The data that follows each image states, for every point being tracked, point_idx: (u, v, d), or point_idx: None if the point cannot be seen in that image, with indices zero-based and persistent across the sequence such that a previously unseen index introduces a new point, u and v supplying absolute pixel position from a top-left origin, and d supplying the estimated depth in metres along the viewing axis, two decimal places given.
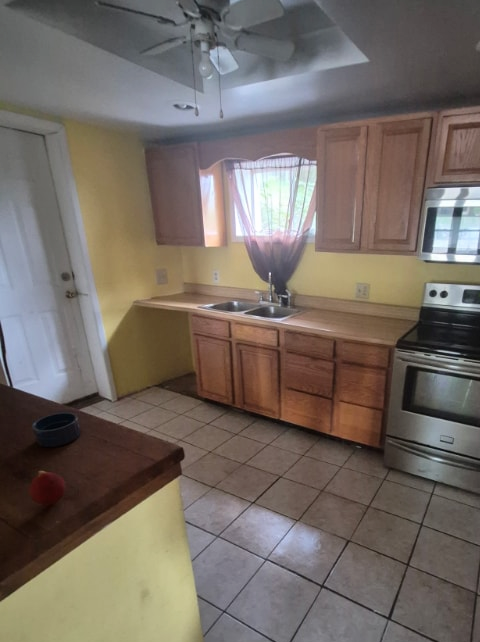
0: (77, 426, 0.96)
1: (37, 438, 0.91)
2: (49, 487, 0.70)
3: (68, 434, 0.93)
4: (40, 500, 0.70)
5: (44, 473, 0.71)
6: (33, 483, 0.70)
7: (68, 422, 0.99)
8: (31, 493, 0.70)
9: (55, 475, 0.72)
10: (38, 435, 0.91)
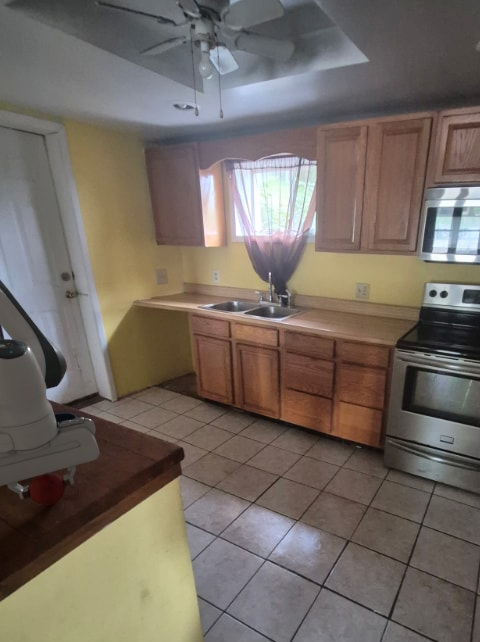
0: None
1: None
2: (49, 487, 0.70)
3: None
4: (40, 500, 0.70)
5: None
6: (33, 483, 0.70)
7: None
8: (31, 493, 0.70)
9: (55, 475, 0.72)
10: None
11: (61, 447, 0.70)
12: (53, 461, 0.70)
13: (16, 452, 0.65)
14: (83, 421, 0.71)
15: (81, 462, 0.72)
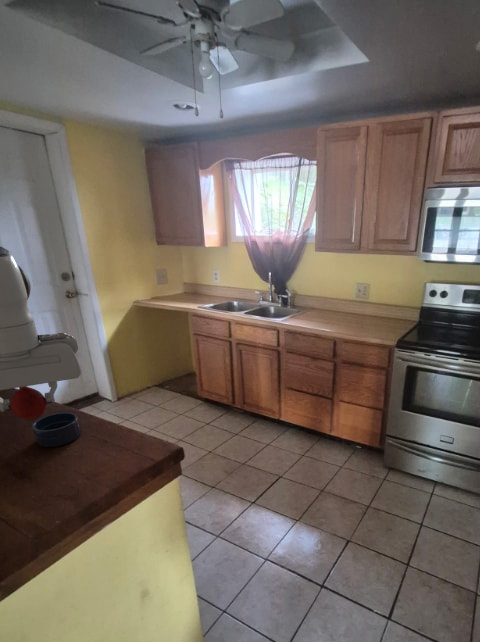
0: (77, 426, 0.96)
1: (37, 438, 0.91)
2: (29, 400, 0.71)
3: (68, 434, 0.93)
4: (20, 412, 0.70)
5: (25, 387, 0.71)
6: (13, 396, 0.71)
7: (68, 422, 0.99)
8: (11, 405, 0.70)
9: (36, 391, 0.73)
10: (38, 435, 0.91)
11: (42, 360, 0.70)
12: (34, 373, 0.70)
13: None
14: (65, 336, 0.72)
15: (62, 378, 0.73)
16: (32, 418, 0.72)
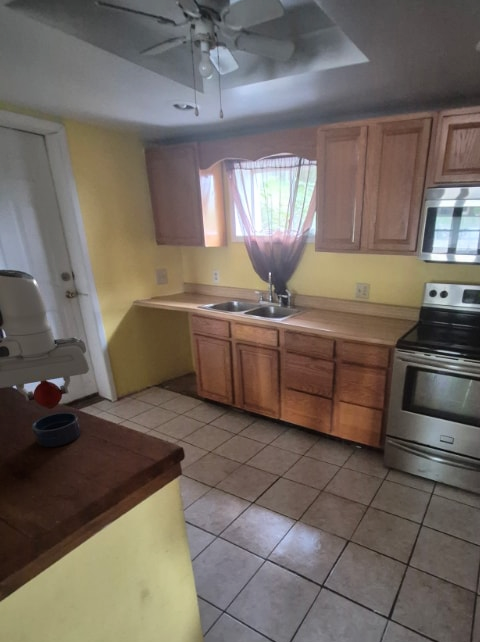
0: (77, 426, 0.96)
1: (37, 438, 0.91)
2: (48, 391, 0.89)
3: (68, 434, 0.93)
4: (42, 401, 0.89)
5: (45, 381, 0.90)
6: (36, 388, 0.89)
7: (68, 422, 0.99)
8: (35, 396, 0.89)
9: (53, 384, 0.91)
10: (38, 435, 0.91)
11: (58, 359, 0.89)
12: (52, 370, 0.89)
13: (23, 358, 0.84)
14: (75, 340, 0.90)
15: (74, 374, 0.91)
16: (51, 406, 0.91)
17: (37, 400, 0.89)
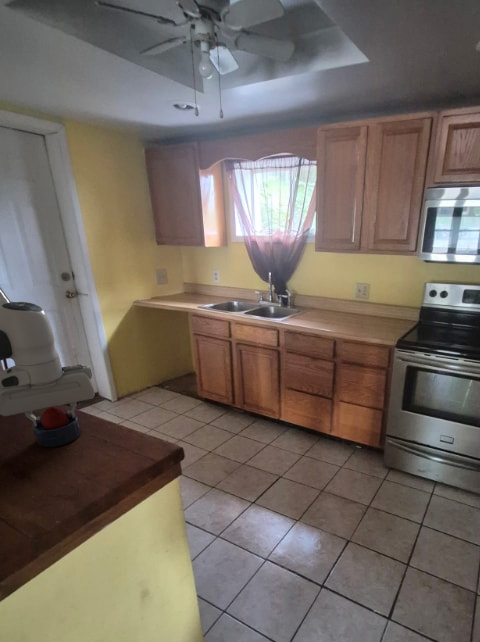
0: (77, 426, 0.96)
1: (37, 438, 0.91)
2: (56, 417, 0.92)
3: (68, 434, 0.93)
4: (49, 426, 0.92)
5: (52, 407, 0.93)
6: (44, 414, 0.92)
7: (68, 422, 0.99)
8: (42, 421, 0.92)
9: (60, 409, 0.94)
10: (38, 435, 0.91)
11: (65, 386, 0.92)
12: (59, 396, 0.91)
13: (31, 386, 0.87)
14: (82, 367, 0.93)
15: (80, 399, 0.94)
16: None
17: (45, 425, 0.92)
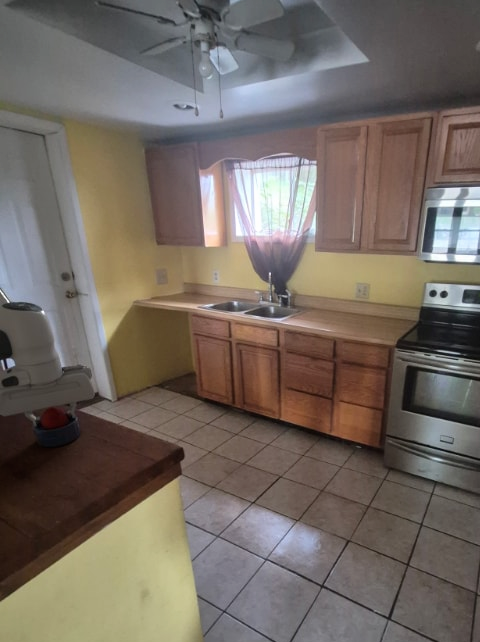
0: (77, 426, 0.96)
1: (37, 438, 0.91)
2: (56, 417, 0.92)
3: (68, 434, 0.93)
4: (49, 426, 0.92)
5: (52, 407, 0.93)
6: (44, 414, 0.92)
7: (68, 422, 0.99)
8: (42, 421, 0.92)
9: (60, 409, 0.94)
10: (38, 435, 0.91)
11: (65, 386, 0.92)
12: (59, 396, 0.91)
13: (31, 387, 0.87)
14: (82, 367, 0.93)
15: (80, 399, 0.94)
16: None
17: (44, 426, 0.92)
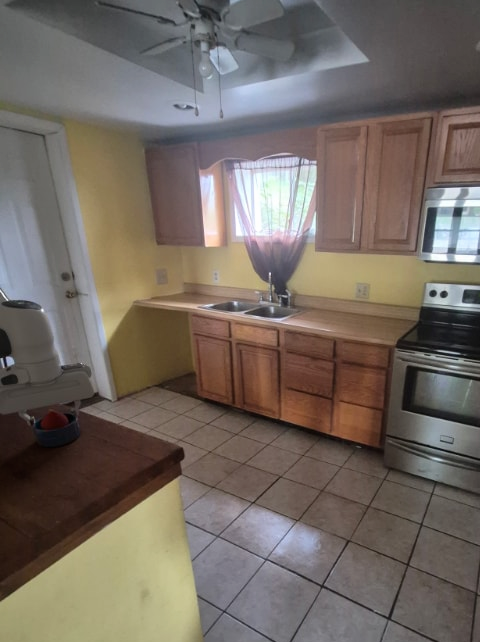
0: (77, 426, 0.96)
1: (37, 438, 0.91)
2: (56, 421, 0.92)
3: (68, 434, 0.93)
4: None
5: (52, 411, 0.93)
6: (44, 418, 0.92)
7: None
8: (42, 425, 0.92)
9: (60, 413, 0.94)
10: (38, 435, 0.91)
11: (65, 384, 0.91)
12: (59, 395, 0.91)
13: (31, 385, 0.87)
14: (81, 366, 0.93)
15: (80, 398, 0.94)
16: None
17: None
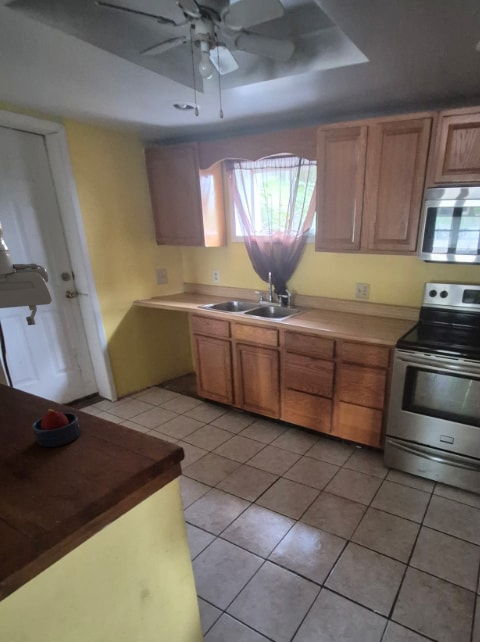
0: (77, 426, 0.96)
1: (37, 438, 0.91)
2: (56, 421, 0.92)
3: (68, 434, 0.93)
4: None
5: (52, 411, 0.93)
6: (44, 418, 0.92)
7: None
8: (42, 425, 0.92)
9: (60, 413, 0.94)
10: (38, 435, 0.91)
11: (17, 285, 0.84)
12: (10, 296, 0.83)
13: None
14: (36, 267, 0.85)
15: (35, 303, 0.86)
16: None
17: None
